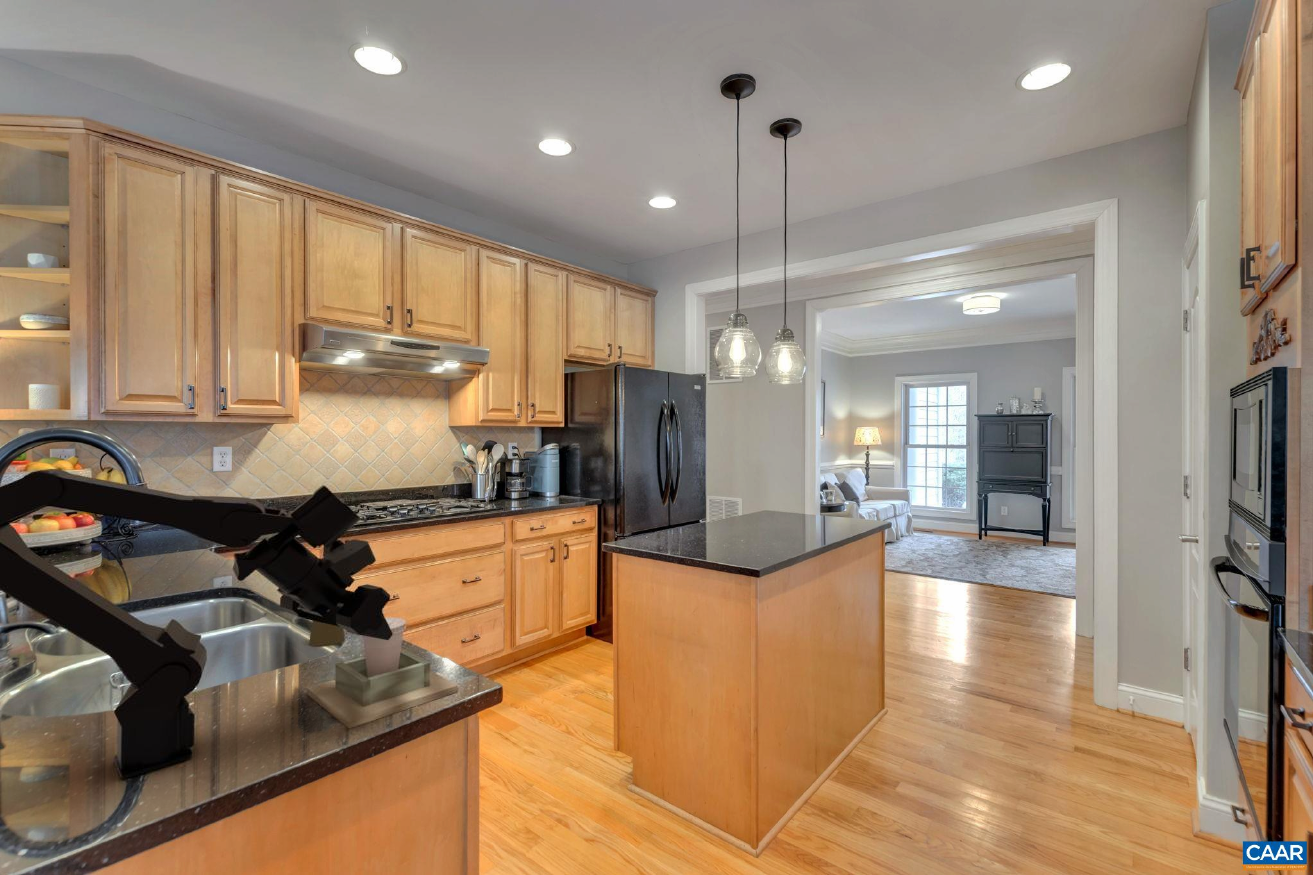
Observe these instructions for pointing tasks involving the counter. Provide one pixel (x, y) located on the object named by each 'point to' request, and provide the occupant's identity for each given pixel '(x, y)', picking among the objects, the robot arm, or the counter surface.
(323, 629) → the cork
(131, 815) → the counter surface
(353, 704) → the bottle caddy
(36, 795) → the counter surface
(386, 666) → the smoothie
